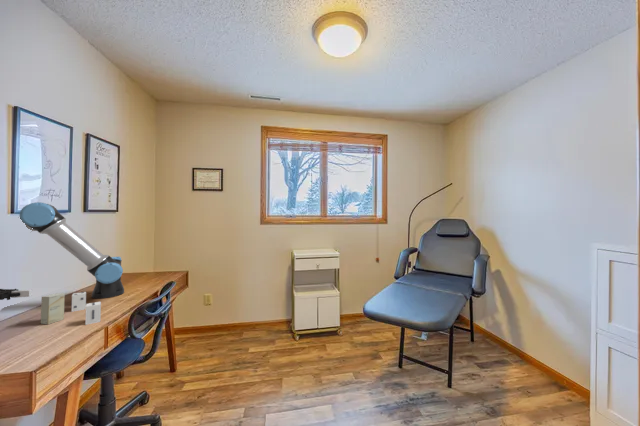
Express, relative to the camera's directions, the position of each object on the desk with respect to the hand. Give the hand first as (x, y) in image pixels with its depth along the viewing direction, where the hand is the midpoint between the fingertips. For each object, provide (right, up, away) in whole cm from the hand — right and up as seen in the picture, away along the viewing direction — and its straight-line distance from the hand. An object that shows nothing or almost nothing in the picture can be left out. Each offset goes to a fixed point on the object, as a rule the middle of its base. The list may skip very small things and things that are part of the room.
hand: (30, 293), depth 113 cm
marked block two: (+6, -14, +16) cm, 22 cm away
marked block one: (+27, -13, +2) cm, 30 cm away
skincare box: (+9, -14, +1) cm, 16 cm away
